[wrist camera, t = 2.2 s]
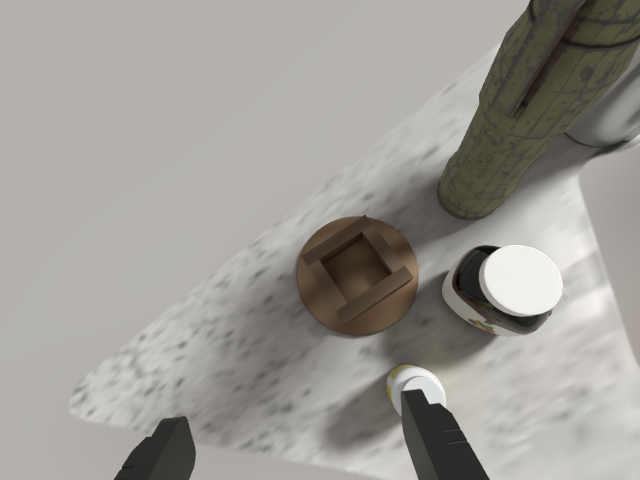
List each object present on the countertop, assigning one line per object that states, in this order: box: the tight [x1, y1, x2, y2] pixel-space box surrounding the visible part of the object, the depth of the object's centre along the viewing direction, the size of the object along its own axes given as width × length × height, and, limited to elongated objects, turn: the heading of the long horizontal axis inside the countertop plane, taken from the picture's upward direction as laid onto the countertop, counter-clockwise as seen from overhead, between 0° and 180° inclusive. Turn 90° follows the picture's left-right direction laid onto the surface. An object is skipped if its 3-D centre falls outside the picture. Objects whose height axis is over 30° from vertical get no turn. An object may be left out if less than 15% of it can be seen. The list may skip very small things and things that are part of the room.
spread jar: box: [442, 245, 567, 336], centre depth 33 cm, size 12×11×12 cm
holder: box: [297, 215, 419, 335], centre depth 40 cm, size 17×17×4 cm
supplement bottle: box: [386, 364, 446, 417], centre depth 32 cm, size 5×5×10 cm
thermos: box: [438, 0, 640, 220], centre depth 28 cm, size 9×12×35 cm
